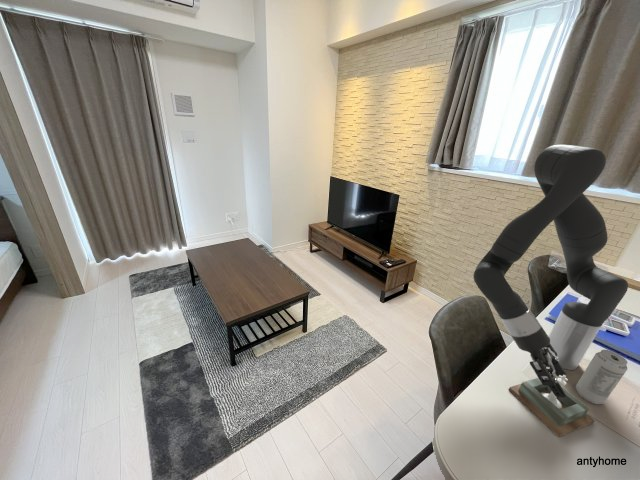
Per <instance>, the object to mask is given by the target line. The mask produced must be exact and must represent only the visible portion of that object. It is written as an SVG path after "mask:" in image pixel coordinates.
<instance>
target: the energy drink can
mask: <svg viewBox="0 0 640 480" xmlns="http://www.w3.org/2000/svg"><path fill="white" fill-rule="evenodd" d="M627 365H628V360H627V359H626V358H625V357H623V356H622V355H620V354H619V353H617V352H615V351H612V350H609V349H602V350H601V351H599V352H598V351H597V352H596V353H595V354H594V355H593V357H592V358H591V360H590V362H589V363H588V366H587V367H586V368H585V370H584V371H583V373H582V375H581V377H580V379H579V380H578V382H577V383H576V384H575V389H576V392H577V394H578V396H580V397H581V398H582V397H583V398H584V399H583V398H582V399H583V400H585V399H586V400H585V401H587V400H588V401H590V402H592V403H591V404H593V403H596V404H595V405H603V404H605V402H606V401H607V399H608V398H609V397H610V395H611V394H612V393H613V391H614V389H615V388H616V386H617V385H618V384H619V382H620V380H621V379H622V378H623V377H624V375H625V374H626V372H627V371H628V366H627ZM588 401H587V402H588ZM590 402H589V403H590Z"/></svg>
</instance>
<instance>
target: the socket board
mask: <svg viewBox="0 0 640 480" xmlns="http://www.w3.org/2000/svg"><path fill="white" fill-rule="evenodd" d="M546 378H548V377H547V376H546ZM562 389H563V390H564V392H565V393H566V397H557V398H556V399H557V400H558V401H559V402H560V403H561V406H562V408H561V410H560V409H558V408H557V407H556V406H555V405H554V404H553V403H551V402H550V401H549V400H548V399H547V398H546V397H544V396H543V395H542V394H541V393H548V394H550V392H551V391H552V390H551V389H550V387H549V386H548V385H545V386H544V385H543V384H542V383H541V381H540V379H539V378H538V377H537V378H533V379H530V380H526V381H523V382H521V383H518V384H515V385H512V386H510V387H509V388H508V390H509V391H510V392H511V393H512V394H513V396H515V397H516V398H517V399H518V400H519V401H520V402H521V403H522V404H523V405H524V406H526V408H527V409H529V410H530V411H531V413H533V414H534V415H535V416H536V417H537V418H538V419H539V420H540V421H542V423H544V424H545V425H546V426H547V427H548V428H549V429H550V430H551V431H552V432H553V433H554V434H555V435H556V436H558V438H559V437H563V436H565V435H567V434H570V433H572V432H574V431H576V430H579V429H583V428H584V427H586V426H589V425H592V424H594V423H595V419H594V418H593V417H591V416H590V415H589V414H588V413H589V411H590V409H591V408H590V407H589V406H587V404H585V403H584V402H582V400H580V399H578V398H577V397H576V396H574V394H572V393H570V392H569V390H567V389H566V388H564V386H563V387H562Z"/></svg>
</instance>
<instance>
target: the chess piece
mask: <svg viewBox="0 0 640 480" xmlns="http://www.w3.org/2000/svg"><path fill="white" fill-rule="evenodd" d="M556 379H557V381H558V383H559V384H560V386H561V387H563V388H564V386H565V387H566V386H567V381H569V380H568V378H567V374H566V375H563V376H561V375H559V377H556ZM541 394H542V395H543V396H544V397H546V398H547V399H548V400H549V401H550V402H551V403H553V404H554V405H555V406H556V407H557V408H558V409H560V410H561V408H562V406H561V403H560V402H559V401H558V400H557V399H556V398H557V397H556V396H555V395H554V393H553V392H552V391H551V392H550V394H548V393H541Z"/></svg>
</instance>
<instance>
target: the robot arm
mask: <svg viewBox="0 0 640 480" xmlns="http://www.w3.org/2000/svg"><path fill="white" fill-rule="evenodd" d="M606 160H607V159H606V155H605V154H604V152H603V151H602V150H600V149H598V148H595V147H594V148H593V147H587V146H581V145H570V144H555V145H550V146H548V147H546V148H545V149H543V150H542V151H541V152H540V153H539V154H538V156H537V157H536V159H535V162H534V177H535V178H536V180H537V182H538V185H539V186H540V187H539V188H541V191H542V193H543V194H544V197H543V198H542V199H541V200H540V201H539V202H537V204H535V205H534V206H532V207H531V208H529V209H528V210H527V211H525V212H522V213H521V214H520V215H518V216H516V217H514V219H512V220H510V222H509V223H508V224H507V225H506V226H505V227H504V228H503V230H502V231H501V232H500V234H499V235H498V237H497V238H496V240H495V241H494V242H493V244H492V246H491V248H490V249H489V251H487V253H486V254H485V255H484V256H483V258H482V259H481V260H480V261H479V263H478V264H477V266H476V267H475V270H474V271H473V281H474V283H475V285H476V287H477V288H478V289H479V291H480V293H482V294H483V295H484V297H486V299H487V300H488V301H489V302H490V303H491V304H492V307H493V308H494V310H495V311H496V313H497V314H498V317H499V318H500V319H501V321H502V324H503V325H504V327H505V329H506V330H507V332H508V333H509V335H510V336H511V338H512V339H513V341H514V343H515V344H516V345H517V347H518V348H519V350H521V351H524V352H528V353H530V359H531V361H529V364H530V367H531V368H532V370H533V371H534V373H535V375H536V376H537V378H539V379H540V381H541V383H542V384H543V385H544V386H545V385H548V386H549V387H550V389H551V390H552V392H553V393H554V395H555V396H556V397H566V393H565V392H564V390H563V389H562V387H561V386H560V384H559V383H558V381H557V379H556V378H559V375H561V376H563V375H566V376H567V372H566V371H565V370H568V371H569V370H570V371H575V370H576V369H577V368H578V367H579V365H580V363H581V362H582V360H583V358H584V356H585V355H586V354H587V351H588V350H589V348H590V347H591V345H592V343H593V341H594V340H595V338H596V336H597V335H598V333H599V331H600V329H601V328H602V326H603V324H604V323H605V322H606V321H607V320H608V319H609V318H610V316H612V314H613V312H614V311H615V309H616V308H617V307H618V305H619V304H620V303H621V301H622V300H623V298H624V297H625V295H627V294H626V293H627V292H628V289H629V284H628V281H627V280H626V278H623V277H621V276H619V275H616V274H614V273H612V272H609V271H607V270H604V269H602V268H600V267H598V266H597V265H596V264H595V261H594V257H593V256H595V255H597V253H599V252H600V251H602V249H603V248H604V247H605V246H606V245H607V242H608V240H609V239H608V232H607V227H606V222H605V219H604V217H603V215H602V214H601V212H600V211H599V210H598V209H597V207H596V206H595V205H594V204H593V203H592V202H591V201H590V200H589V199H588V197H587V196H586V195H585V192H586V191H587V190H588V189H589V187H591V186H592V185H593V184H594V182H596V180H598V178H599V177H600V175H601V174H602V173H603V170H604V169H605V167H606V164H607V161H606ZM552 222H553V223H554V227H555V230H556V231H555V232H556V234H557V237H558V238H557V239H558V240H559V242H560V243H559V244H560V247H561V248H562V249H561V250H562V253H563V256H564V262H565V268H566V277H567V283H568V285H569V287H570V288H571V289H572V290H573V291H574V292H576V293H577V294H579V295H581V296H583V297H584V298H587V299H589V302H588V303H584V302H580V301H567V302H565V303H564V305H563V306H562V309H561V311H560V312H559V314H558V317H557V319H556V320H555V323H554V324H553V326H552V329H551V331H550V332H549V335H548V334H547V333H546V331H545V329H544V328H543V327H542V325H541V323H540V322H539V321H538V319H537V317H536V316H535V315H534V314H533V312H532V311H531V310H530V309H529V307H528V306H527V304H526V303H525V301H524V300H523V299H522V297H521V296H520V295H519V294H518V293H517V292H516V291H515V290H513V288H512V286H511V285H510V284H509V282H508V281H507V279H506V277H505V275H506V273H507V272H508V271H509V269H510V268H511V267H512V266H513V264H514V263H515V262H518V261H519V260H520V259H521V258H522V257H523V255H524V254H525V253H526V252H527V251H528V250H529V248H530V247H531V246H532V245H533V243H534V242H535V241H536V239H537V238H538V237H539V236H540V234H541V233H542V232H543V231H544V230H545V229H546V228H547V227H548V226H550V224H551V223H552ZM546 376H547V377H548V378H546Z"/></svg>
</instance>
